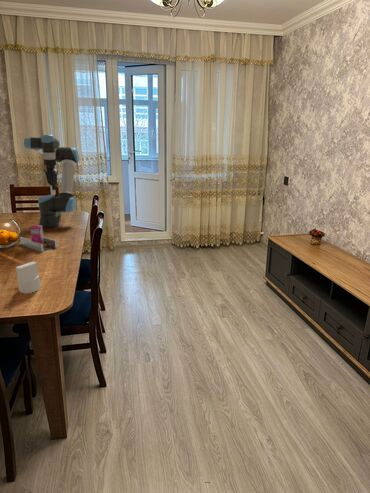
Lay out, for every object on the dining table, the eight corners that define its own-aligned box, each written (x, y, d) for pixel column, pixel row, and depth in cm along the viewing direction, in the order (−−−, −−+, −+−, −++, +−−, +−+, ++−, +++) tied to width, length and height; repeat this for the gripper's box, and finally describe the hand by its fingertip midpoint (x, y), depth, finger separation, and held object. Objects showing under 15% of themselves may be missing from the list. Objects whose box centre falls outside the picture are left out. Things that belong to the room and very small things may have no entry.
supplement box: (35, 242, 216) (32, 225, 213) (44, 242, 217) (42, 225, 213) (31, 245, 211) (29, 227, 207) (41, 245, 211) (39, 227, 208)
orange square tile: (30, 245, 213) (30, 244, 213) (40, 243, 219) (40, 241, 218) (36, 248, 209) (36, 246, 209) (47, 245, 215) (46, 243, 214)
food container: (65, 218, 287) (64, 207, 284) (60, 220, 281) (59, 208, 278) (53, 217, 291) (52, 205, 288) (48, 219, 285) (47, 207, 282)
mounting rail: (19, 246, 217) (18, 237, 215) (37, 242, 226) (36, 233, 224) (40, 254, 203) (39, 245, 201) (58, 249, 212) (57, 240, 210)
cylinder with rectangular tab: (27, 295, 153) (23, 270, 149) (15, 290, 157) (11, 265, 154) (44, 287, 160) (41, 264, 156) (32, 283, 165) (29, 260, 161)
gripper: (38, 158, 228) (43, 194, 236) (50, 160, 221) (54, 196, 228) (49, 158, 234) (52, 192, 241) (60, 159, 226) (63, 194, 234)
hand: (53, 194), depth 235 cm, fingers closed
